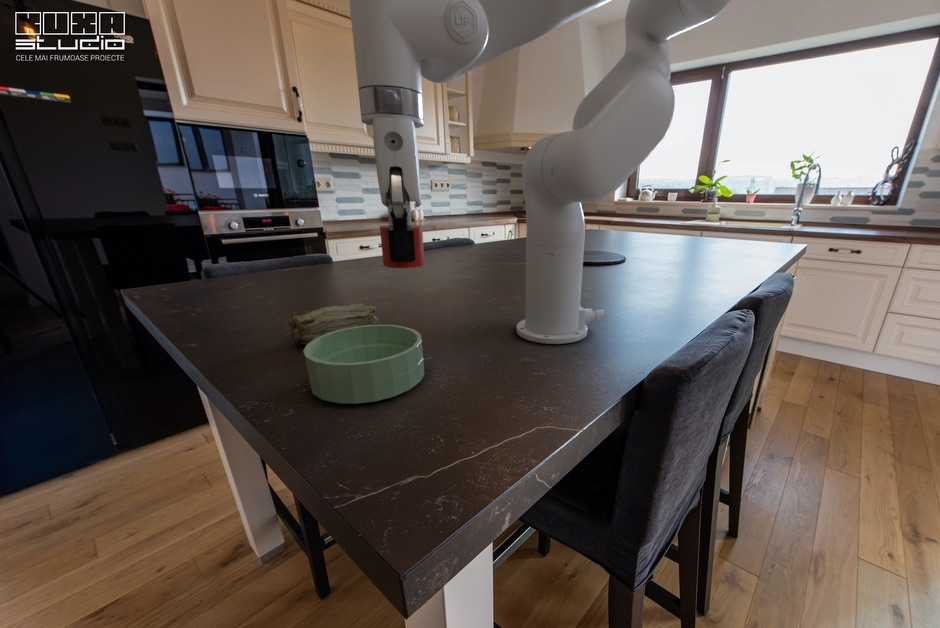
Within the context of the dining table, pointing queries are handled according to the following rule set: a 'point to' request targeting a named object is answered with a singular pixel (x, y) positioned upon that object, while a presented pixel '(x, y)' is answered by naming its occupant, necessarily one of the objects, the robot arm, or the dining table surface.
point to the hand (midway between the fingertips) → (403, 256)
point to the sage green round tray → (364, 363)
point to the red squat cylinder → (417, 242)
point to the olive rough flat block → (330, 321)
